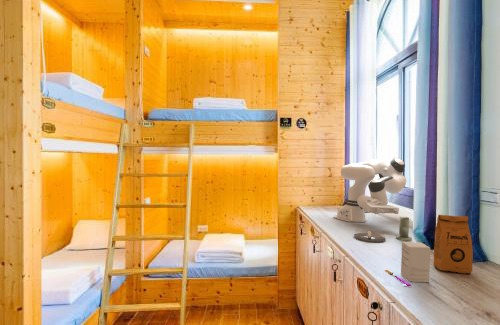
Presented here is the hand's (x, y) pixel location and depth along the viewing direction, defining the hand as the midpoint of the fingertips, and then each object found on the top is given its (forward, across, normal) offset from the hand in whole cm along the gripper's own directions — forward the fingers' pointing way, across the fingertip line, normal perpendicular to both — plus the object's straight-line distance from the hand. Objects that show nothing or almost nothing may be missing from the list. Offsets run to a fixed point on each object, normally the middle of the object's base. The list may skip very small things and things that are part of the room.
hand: (390, 212), depth 186 cm
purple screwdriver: (+61, +45, -10) cm, 77 cm away
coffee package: (+58, +16, -8) cm, 61 cm away
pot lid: (+9, +18, -13) cm, 24 cm away
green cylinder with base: (+12, 0, -11) cm, 17 cm away
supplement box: (+63, +38, -9) cm, 74 cm away
